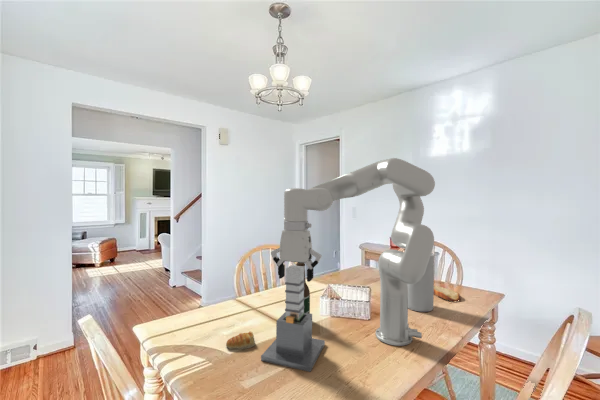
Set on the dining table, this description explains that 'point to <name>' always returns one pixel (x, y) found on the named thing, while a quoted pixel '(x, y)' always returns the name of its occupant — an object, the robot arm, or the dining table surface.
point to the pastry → (241, 341)
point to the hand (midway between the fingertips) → (295, 279)
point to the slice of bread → (446, 293)
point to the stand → (294, 344)
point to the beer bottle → (305, 292)
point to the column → (295, 292)
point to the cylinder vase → (423, 290)
